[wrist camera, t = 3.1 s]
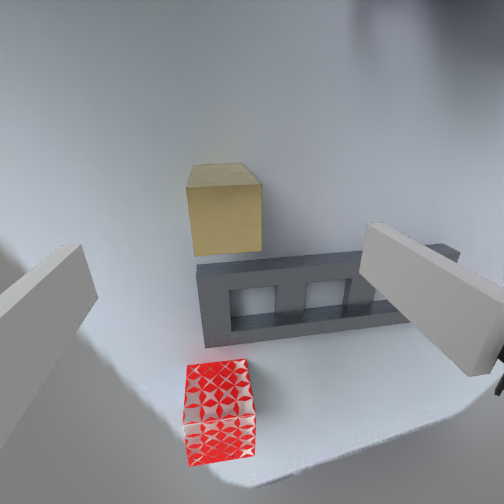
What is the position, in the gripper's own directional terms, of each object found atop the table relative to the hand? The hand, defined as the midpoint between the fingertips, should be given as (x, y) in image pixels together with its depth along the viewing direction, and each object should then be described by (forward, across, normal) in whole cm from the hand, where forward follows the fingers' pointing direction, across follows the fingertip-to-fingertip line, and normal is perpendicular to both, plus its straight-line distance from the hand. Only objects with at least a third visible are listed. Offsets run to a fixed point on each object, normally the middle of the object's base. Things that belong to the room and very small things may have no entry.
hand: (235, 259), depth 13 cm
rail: (+15, +12, -13) cm, 23 cm away
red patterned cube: (+15, -2, -27) cm, 31 cm away
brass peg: (+15, 0, 0) cm, 15 cm away
